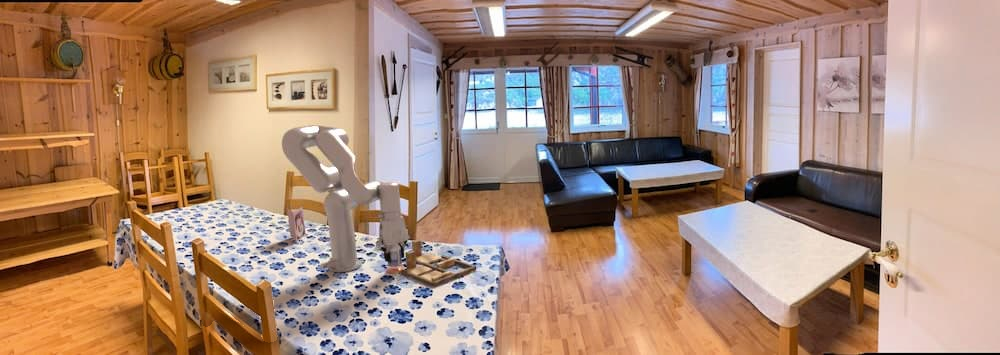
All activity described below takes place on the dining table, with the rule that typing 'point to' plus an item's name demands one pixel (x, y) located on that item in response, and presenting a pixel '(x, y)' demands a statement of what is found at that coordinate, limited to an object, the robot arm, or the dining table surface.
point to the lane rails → (440, 273)
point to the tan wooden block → (412, 264)
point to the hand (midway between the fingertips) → (394, 259)
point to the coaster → (395, 269)
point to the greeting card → (296, 224)
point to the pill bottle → (395, 256)
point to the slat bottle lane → (430, 256)
